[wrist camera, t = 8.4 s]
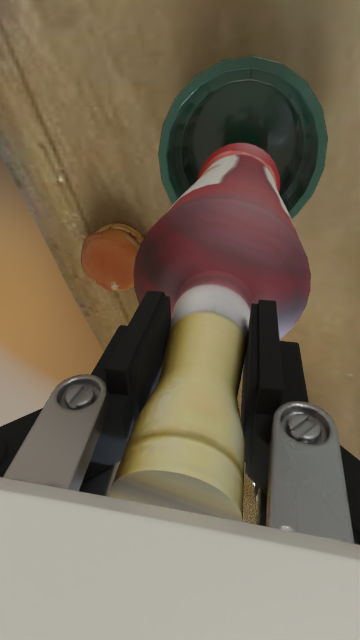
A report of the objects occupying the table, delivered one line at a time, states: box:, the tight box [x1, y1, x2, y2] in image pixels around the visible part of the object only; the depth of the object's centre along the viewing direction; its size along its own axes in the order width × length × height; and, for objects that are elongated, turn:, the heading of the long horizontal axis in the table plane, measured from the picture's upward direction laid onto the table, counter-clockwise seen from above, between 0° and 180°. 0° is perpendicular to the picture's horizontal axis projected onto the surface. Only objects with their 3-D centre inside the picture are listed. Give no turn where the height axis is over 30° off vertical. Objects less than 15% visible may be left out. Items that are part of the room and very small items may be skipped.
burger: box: [81, 223, 143, 291], centre depth 49 cm, size 10×9×5 cm
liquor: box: [110, 143, 311, 522], centre depth 18 cm, size 7×7×28 cm
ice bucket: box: [158, 56, 328, 219], centre depth 36 cm, size 16×16×10 cm
